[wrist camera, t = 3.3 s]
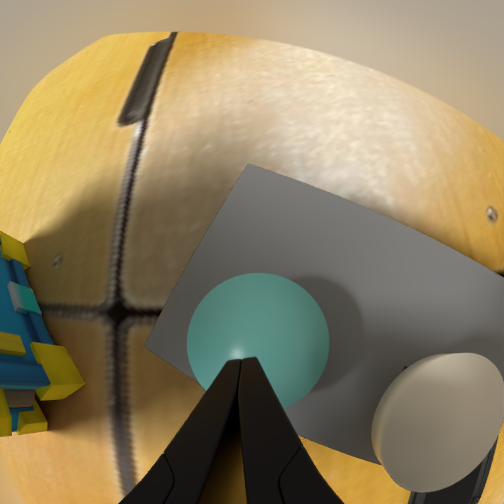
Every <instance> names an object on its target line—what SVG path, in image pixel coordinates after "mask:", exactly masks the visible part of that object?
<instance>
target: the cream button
mask: <svg viewBox="0 0 504 504" xmlns="http://www.w3.org/2000/svg"><path fill="white" fill-rule="evenodd" d="M503 420H504V381H503V379H502V376H501V374H500V372H499V370H498V369H497V367H496V366H495V365H494V364H493V363H492V362H491V361H490V360H489V359H487V358H485V357H484V356H481V355H478V354H474V353H453V354H437V355H432V356H428V357H425V358H423V359H421V360H419V361H417V362H415V363H413V364H412V365H410V366H409V367H408V368H406V369H405V370H404V371H403V372H401V373H400V374H399V375H398V376H397V377H396V378H395V380H394V381H393V382H392V383H391V384H390V385H389V387H388V388H387V390H386V391H385V393H384V394H383V396H382V398H381V400H380V402H379V404H378V406H377V408H376V411H375V414H374V418H373V423H372V430H371V439H372V446H373V450H374V452H375V455H376V457H377V459H378V460H379V462H380V463H381V464H382V466H383V467H384V469H385V470H386V471H387V473H388V474H389V475H390V477H391V478H392V479H393V480H394V481H395V483H397V484H398V485H399V486H401V487H402V488H404V489H406V490H409V491H413V492H421V493H422V492H432V491H437V490H440V489H444V488H446V487H448V486H451V485H453V484H455V483H456V482H458V481H460V480H461V479H463V478H464V477H465V476H467V475H468V474H469V473H470V472H471V471H473V470H474V469H475V468H476V467H477V466H478V465H479V464H480V463H481V461H482V460H483V459H484V458H485V456H486V455H487V454H488V452H489V451H490V449H491V448H492V446H493V444H494V442H495V441H496V439H497V437H498V434H499V432H500V429H501V426H502V423H503Z"/></svg>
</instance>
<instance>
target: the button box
mask: <svg viewBox="0 0 504 504" xmlns="http://www.w3.org/2000/svg"><path fill="white" fill-rule="evenodd" d="M249 273H268V274H274V275H278V276H281V277H284V278H287V279H289V280H291V281H293V282H295V283H296V284H298V285H299V286H301V287H302V288H303V289H305V290H306V291H307V292H308V293H309V294H310V295H311V296H312V297H313V299H314V300H315V301H316V302H317V304H318V305H319V307H320V309H321V310H322V313H323V315H324V317H325V320H326V323H327V327H328V332H329V353H328V359H327V362H326V366H325V368H324V370H323V373H322V375H321V377H320V378H319V380H318V381H317V383H316V384H315V385H314V387H313V388H312V389H311V390H310V391H309V392H308V393H307V394H306V395H305V396H304V397H303V398H301V399H300V400H298V401H297V402H296V403H294V404H292V405H290V406H288V407H286V408H283V409H284V411H285V412H286V414H287V416H288V418H289V420H290V422H291V424H292V426H293V427H294V429H295V431H296V433H297V435H299V436H302V437H304V438H306V439H309V440H311V441H314V442H316V443H319V444H321V445H324V446H326V447H329V448H331V449H334V450H337V451H339V452H342V453H345V454H348V455H351V456H354V457H357V458H360V459H363V460H366V461H369V462H372V463H376V464H379V465H382V464H381V463H380V462H379V460H378V459H377V457H376V455H375V452H374V450H373V446H372V439H371V430H372V423H373V418H374V414H375V411H376V408H377V406H378V404H379V402H380V400H381V398H382V396H383V394H384V393H385V391H386V390H387V388H388V387H389V385H390V384H391V383H392V382H393V381H394V380H395V378H396V377H397V376H398V375H399V374H400V373H401V372H403V371H404V370H405V369H406V368H408V367H409V366H410V365H412V364H413V363H415V362H417V361H419V360H421V359H423V358H425V357H428V356H432V355H437V354H453V353H474V354H478V355H481V356H484V357H485V358H487V359H489V360H490V361H491V362H492V363H493V364H494V365H495V366H496V367H497V369H498V370H499V372H500V374H501V376H502V379H503V381H504V278H503V277H502V276H500V275H498V274H497V273H495V272H493V271H492V270H490V269H488V268H486V267H485V266H483V265H481V264H479V263H478V262H476V261H474V260H472V259H471V258H469V257H467V256H465V255H463V254H461V253H460V252H458V251H456V250H454V249H452V248H450V247H448V246H446V245H444V244H442V243H440V242H439V241H437V240H435V239H433V238H431V237H429V236H427V235H425V234H422V233H420V232H418V231H416V230H414V229H412V228H410V227H408V226H406V225H404V224H402V223H399V222H397V221H395V220H393V219H391V218H388V217H386V216H384V215H382V214H379V213H377V212H375V211H373V210H370V209H368V208H366V207H363V206H361V205H359V204H356V203H354V202H351V201H349V200H347V199H344V198H342V197H339V196H337V195H334V194H332V193H329V192H327V191H324V190H321V189H319V188H316V187H314V186H311V185H308V184H306V183H303V182H300V181H297V180H295V179H292V178H289V177H286V176H284V175H281V174H278V173H275V172H272V171H269V170H266V169H263V168H260V167H257V166H254V165H251V164H248V165H247V166H246V168H245V169H244V171H243V172H242V174H241V176H240V177H239V179H238V180H237V182H236V184H235V185H234V187H233V188H232V190H231V192H230V193H229V195H228V197H227V198H226V200H225V202H224V203H223V205H222V206H221V208H220V210H219V211H218V213H217V215H216V216H215V218H214V220H213V221H212V223H211V225H210V227H209V228H208V230H207V232H206V233H205V235H204V237H203V238H202V240H201V242H200V244H199V245H198V247H197V249H196V251H195V252H194V254H193V256H192V258H191V259H190V261H189V263H188V265H187V266H186V268H185V270H184V272H183V273H182V275H181V277H180V279H179V281H178V282H177V284H176V286H175V288H174V290H173V292H172V293H171V295H170V297H169V299H168V301H167V303H166V304H165V306H164V308H163V310H162V312H161V314H160V316H159V318H158V319H157V321H156V323H155V325H154V327H153V329H152V331H151V333H150V335H149V337H148V339H147V341H146V343H145V344H144V347H146V348H147V349H149V350H150V351H151V352H153V353H154V354H156V355H157V356H158V357H160V358H161V359H163V360H164V361H166V362H167V363H169V364H170V365H172V366H173V367H175V368H176V369H178V370H179V371H181V372H182V373H184V374H185V375H187V376H188V377H190V378H192V379H193V380H195V381H196V382H198V380H197V379H196V377H195V375H194V373H193V371H192V368H191V365H190V362H189V358H188V353H187V334H188V329H189V325H190V322H191V318H192V316H193V314H194V312H195V310H196V308H197V307H198V305H199V304H200V302H201V301H202V300H203V298H204V297H205V296H206V295H207V294H208V293H209V292H210V291H211V290H212V289H214V288H215V287H216V286H218V285H219V284H221V283H223V282H224V281H226V280H228V279H231V278H233V277H236V276H239V275H243V274H249ZM198 383H199V382H198Z"/></svg>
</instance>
